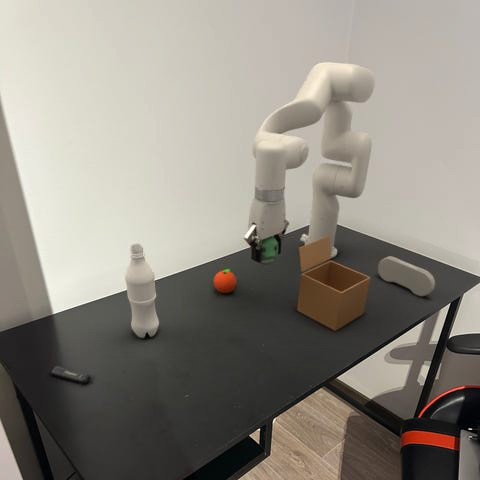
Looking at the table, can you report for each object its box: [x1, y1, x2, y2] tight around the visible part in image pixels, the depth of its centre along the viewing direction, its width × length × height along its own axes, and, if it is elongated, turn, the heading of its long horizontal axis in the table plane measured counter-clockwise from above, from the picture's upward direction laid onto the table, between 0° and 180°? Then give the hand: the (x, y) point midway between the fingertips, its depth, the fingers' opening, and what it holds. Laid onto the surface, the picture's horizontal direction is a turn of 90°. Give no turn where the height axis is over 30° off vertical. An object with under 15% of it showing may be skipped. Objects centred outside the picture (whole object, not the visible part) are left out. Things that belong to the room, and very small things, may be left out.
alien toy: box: [255, 236, 279, 266], centre depth 123 cm, size 7×8×10 cm
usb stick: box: [50, 365, 91, 384], centre depth 104 cm, size 10×3×2 cm, turn 71°
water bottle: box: [124, 243, 160, 339], centre depth 114 cm, size 7×7×25 cm
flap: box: [297, 236, 332, 273], centre depth 127 cm, size 7×13×1 cm
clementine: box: [213, 268, 237, 294], centre depth 138 cm, size 8×7×7 cm
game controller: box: [377, 255, 436, 297], centre depth 143 cm, size 20×2×8 cm, turn 39°
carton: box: [296, 260, 372, 332], centre depth 128 cm, size 14×13×12 cm
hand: (266, 256), depth 124 cm, fingers closed on alien toy, 7 cm apart
